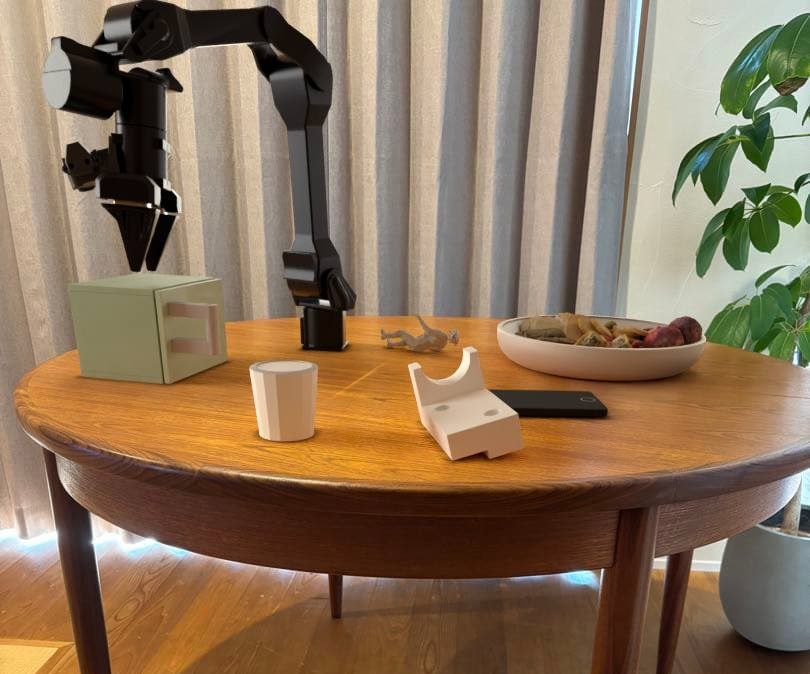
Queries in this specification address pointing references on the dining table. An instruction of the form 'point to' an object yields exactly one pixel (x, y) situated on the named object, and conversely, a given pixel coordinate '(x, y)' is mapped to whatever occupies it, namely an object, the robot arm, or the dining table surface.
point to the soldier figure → (421, 338)
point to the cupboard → (121, 325)
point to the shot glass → (285, 398)
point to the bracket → (466, 411)
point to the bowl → (602, 346)
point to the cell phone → (552, 402)
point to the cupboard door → (191, 328)
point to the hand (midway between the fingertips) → (143, 271)
